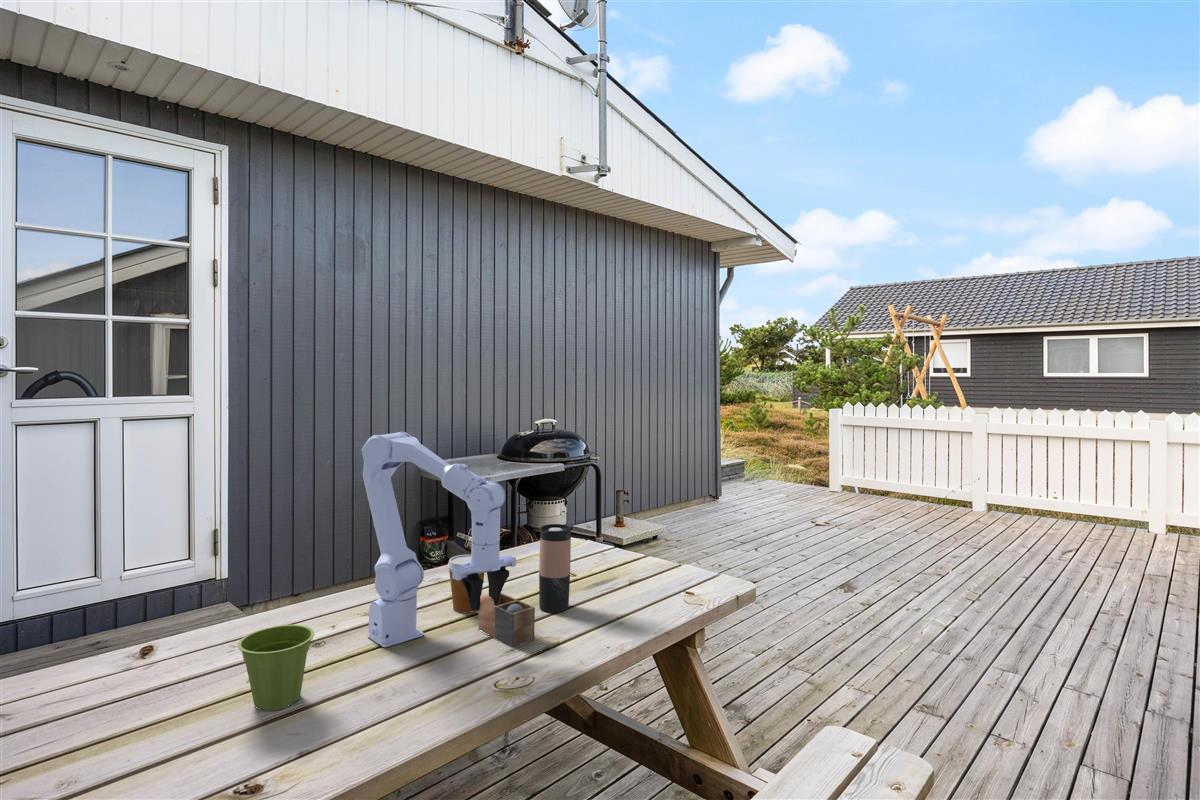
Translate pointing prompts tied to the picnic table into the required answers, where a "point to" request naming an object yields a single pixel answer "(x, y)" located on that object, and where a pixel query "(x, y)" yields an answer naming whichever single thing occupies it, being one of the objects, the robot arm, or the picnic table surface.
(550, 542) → the travel mug
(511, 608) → the charcoal ball
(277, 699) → the plant pot
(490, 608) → the terracotta ball
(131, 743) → the picnic table surface
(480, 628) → the divided wooden sorting box
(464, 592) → the disposable coffee cup
